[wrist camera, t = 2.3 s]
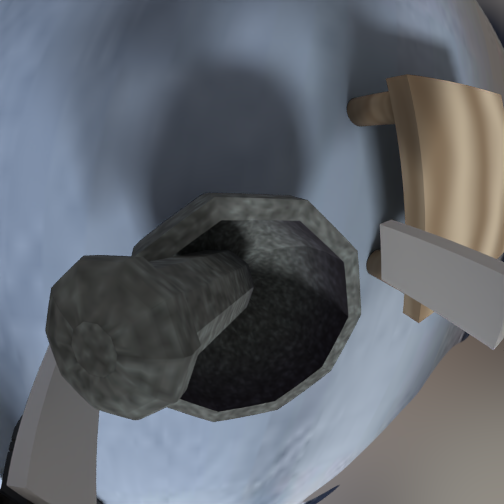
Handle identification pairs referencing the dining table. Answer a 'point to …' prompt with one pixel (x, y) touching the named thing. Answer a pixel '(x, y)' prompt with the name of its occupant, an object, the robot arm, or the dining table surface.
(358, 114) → the oak footstool
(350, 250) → the mortar and pestle
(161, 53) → the dining table surface
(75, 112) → the dining table surface
